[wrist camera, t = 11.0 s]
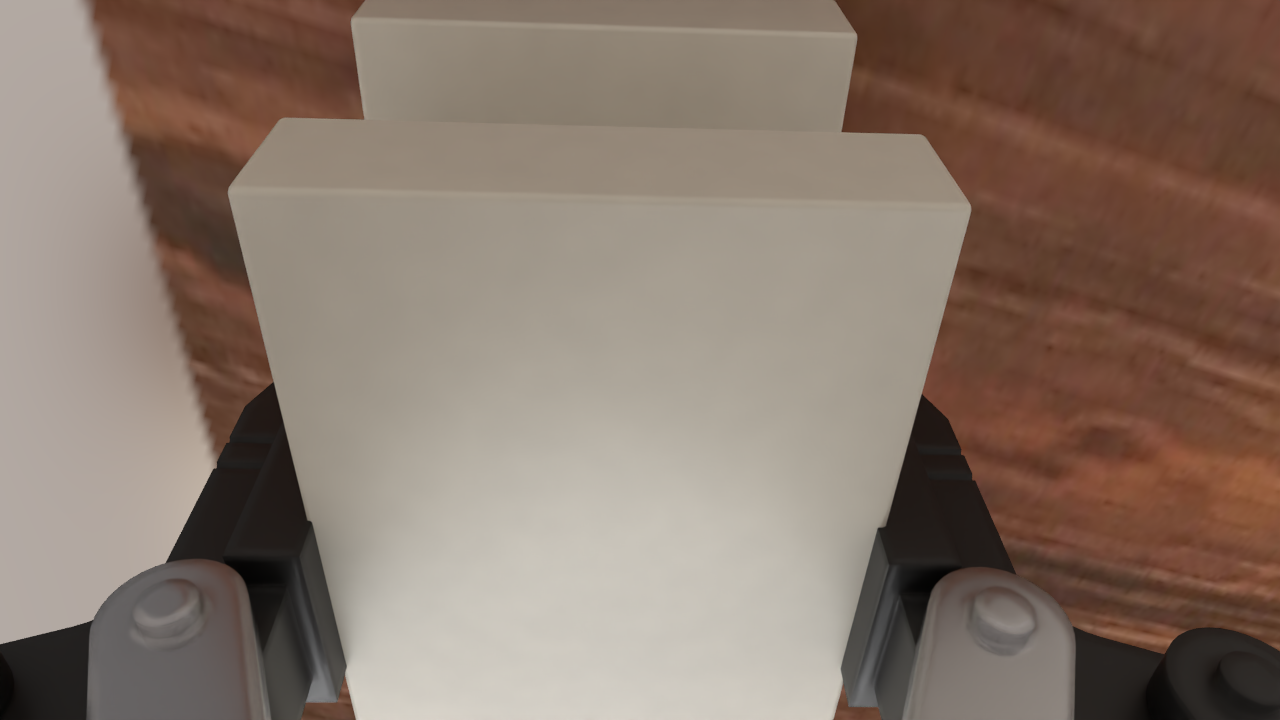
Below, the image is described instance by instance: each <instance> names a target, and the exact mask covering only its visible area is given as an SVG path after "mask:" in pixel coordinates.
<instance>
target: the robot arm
mask: <svg viewBox="0 0 1280 720" xmlns="http://www.w3.org/2000/svg"><path fill="white" fill-rule="evenodd" d="M346 668H347V665H346V661H345V657H344V653H343V649H342V645H341V640H340V636H339V632H338V628H337V624H336V620H335V616H334V611H333V607H332V603H331V599H330V595H329V591H328V586H327V582H326V578H325V574H324V570H323V566H322V561H321V557H320V553H319V549H318V545H317V541H316V536H315V532H314V528H313V524H312V522H311V521H308V520H307V516H306V512H305V508H304V504H303V500H302V496H301V492H300V487H299V483H298V479H297V475H296V471H295V467H294V463H293V459H292V455H291V451H290V446H289V442H288V438H287V434H286V430H285V426H284V422H283V418H282V414H281V410H280V405H279V401H278V397H277V393H276V389H275V385H274V382H273V383H272V384H271V385H269V386H268V387H267V388H266V389H265V390H264V391H262V392H261V393H260V394H259V395H258V396H257V397H255V398H254V399H253V400H252V401H251V402H250V403H248V404H247V405H246V406H245V408H244V410H243V412H242V414H241V416H240V418H239V420H238V422H237V424H236V425H235V427H234V429H233V431H232V433H231V435H230V443H226V445H225V447H224V449H223V451H222V453H221V455H220V457H219V459H218V461H217V469H213V471H212V473H211V475H210V477H209V479H208V481H207V483H206V485H205V487H204V489H203V491H202V493H201V495H200V496H199V498H198V501H197V502H196V504H195V506H194V508H193V510H192V512H191V514H190V516H189V518H188V520H187V522H186V524H185V526H184V528H183V530H182V532H181V534H180V536H179V538H178V540H177V542H176V544H175V546H174V548H173V550H172V552H171V554H170V556H169V558H168V560H167V561H166V563H165V564H162V565H159V566H155V567H153V568H151V569H149V570H146V571H144V572H142V573H140V574H138V575H137V576H135V577H133V578H132V579H130V580H128V581H127V582H126V583H124V584H123V585H121V586H120V587H119V588H118V589H117V590H115V591H114V592H113V593H112V594H111V595H110V596H109V597H108V598H107V600H106V601H105V602H104V603H103V604H102V606H101V607H100V609H99V611H98V612H97V614H96V615H95V617H94V620H92V621H90V622H87V623H84V624H80V625H77V626H74V627H70V628H65V629H61V630H57V631H53V632H49V633H45V634H41V635H37V636H33V637H29V638H24V639H20V640H16V641H12V642H8V643H4V644H0V720H301V717H302V713H303V710H304V707H305V703H306V702H337V701H338V697H339V694H340V690H341V686H342V683H343V679H344V675H345V672H346ZM841 674H842V678H843V683H844V687H845V692H846V696H847V701H848V705H849V707H879V711H880V715H881V719H882V720H1280V651H1278V650H1277V649H1275V648H1273V647H1271V646H1270V645H1268V644H1266V643H1264V642H1262V641H1260V640H1258V639H1255V638H1253V637H1251V636H1248V635H1245V634H1242V633H1239V632H1236V631H1232V630H1227V629H1221V628H1196V629H1193V630H1189V631H1186V632H1184V633H1182V634H1180V635H1179V636H1177V637H1176V638H1175V639H1174V640H1173V641H1172V643H1171V644H1170V646H1169V648H1168V649H1167V651H1166V653H1165V655H1164V654H1161V653H1157V652H1153V651H1150V650H1146V649H1142V648H1139V647H1135V646H1131V645H1128V644H1124V643H1120V642H1117V641H1113V640H1110V639H1106V638H1102V637H1099V636H1096V635H1093V634H1090V633H1087V632H1084V631H1082V630H1080V629H1078V628H1075V627H1073V626H1072V624H1071V622H1070V620H1069V618H1068V616H1067V615H1066V613H1065V612H1064V610H1063V609H1062V608H1061V606H1060V605H1059V604H1058V603H1057V602H1056V601H1055V600H1054V599H1053V598H1052V597H1051V596H1050V595H1049V594H1048V593H1046V592H1045V591H1044V590H1043V589H1041V588H1040V587H1038V586H1037V585H1035V584H1034V583H1032V582H1031V581H1029V580H1027V579H1025V578H1023V577H1020V576H1018V575H1017V574H1016V573H1015V570H1014V568H1013V566H1012V563H1011V561H1010V559H1009V557H1008V554H1007V552H1006V550H1005V548H1004V545H1003V543H1002V541H1001V539H1000V536H999V534H998V532H997V529H996V527H995V525H994V523H993V520H992V518H991V516H990V514H989V511H988V509H987V507H986V504H985V502H984V500H983V498H982V495H981V493H980V491H979V489H978V486H977V484H976V482H975V481H972V473H971V470H970V468H969V466H968V464H967V461H966V459H965V457H964V455H961V448H960V445H959V443H958V441H957V439H956V436H955V434H954V432H953V430H952V427H951V425H950V423H949V420H948V419H947V418H946V417H945V416H944V415H943V414H942V413H941V412H940V411H939V410H938V409H937V408H936V407H935V406H934V405H933V404H932V403H931V402H930V401H928V400H927V399H926V398H925V397H924V396H923V395H922V394H921V398H920V402H919V405H918V409H917V413H916V416H915V420H914V424H913V428H912V431H911V435H910V439H909V442H908V446H907V450H906V453H905V457H904V461H903V464H902V468H901V472H900V475H899V479H898V483H897V486H896V490H895V494H894V498H893V501H892V505H891V509H890V512H889V516H888V520H887V523H886V526H885V527H882V528H878V529H877V532H876V536H875V540H874V544H873V548H872V551H871V555H870V559H869V563H868V567H867V570H866V574H865V578H864V582H863V585H862V589H861V593H860V597H859V601H858V604H857V608H856V612H855V616H854V619H853V623H852V627H851V631H850V635H849V638H848V642H847V646H846V650H845V653H844V657H843V661H842V665H841Z"/></svg>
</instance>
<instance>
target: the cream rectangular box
mask: <svg viewBox="0 0 1280 720" xmlns="http://www.w3.org/2000/svg"><path fill="white" fill-rule="evenodd" d="M351 29H352V36H353V43H354V50H355V57H356V64H357V71H358V78H359V85H360V92H361V99H362V106H363V113H364V120H391V121H429V122H467V123H505V124H542V125H580V126H618V127H656V128H693V129H731V130H769V131H807V132H841V131H842V126H843V120H844V114H845V108H846V102H847V97H848V91H849V85H850V79H851V73H852V67H853V62H854V56H855V50H856V44H857V34H856V32H855V31H854V29H853V28H852V26H851V25H850V23H849V22H848V20H847V18H846V17H845V15H844V14H843V12H842V11H841V9H840V8H839V6H838V5H837V3H836V2H835V1H834V0H365V1H364V3H363V4H362V5H361V6H360V8H359V9H358V10H357V12H356V13H355V14H354V15H353V17H352V18H351Z"/></svg>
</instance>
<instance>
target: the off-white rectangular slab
mask: <svg viewBox="0 0 1280 720" xmlns="http://www.w3.org/2000/svg"><path fill="white" fill-rule="evenodd" d="M228 196H229V200H230V204H231V209H232V213H233V217H234V221H235V225H236V229H237V233H238V237H239V241H240V245H241V250H242V254H243V258H244V262H245V266H246V270H247V274H248V278H249V282H250V286H251V291H252V295H253V299H254V303H255V307H256V311H257V315H258V319H259V323H260V327H261V332H262V336H263V340H264V344H265V348H266V352H267V356H268V360H269V364H270V369H271V373H272V377H273V381H274V385H275V389H276V393H277V397H278V401H279V405H280V410H281V414H282V418H283V422H284V426H285V430H286V434H287V438H288V442H289V446H290V451H291V455H292V459H293V463H294V467H295V471H296V475H297V479H298V483H299V487H300V492H301V496H302V500H303V504H304V508H305V512H306V516H307V520H308V521H311V522H312V524H313V528H314V532H315V536H316V541H317V545H318V549H319V553H320V557H321V561H322V566H323V570H324V574H325V578H326V582H327V586H328V591H329V595H330V599H331V603H332V607H333V611H334V616H335V620H336V624H337V628H338V632H339V636H340V640H341V645H342V649H343V653H344V657H345V661H346V665H347V668H346V672H345V676H346V680H347V684H348V688H349V692H350V697H351V701H352V705H353V709H354V713H355V717H356V720H833V719H834V715H835V711H836V708H837V704H838V700H839V697H840V693H841V689H842V686H843V678H842V674H841V665H842V661H843V657H844V653H845V650H846V646H847V642H848V638H849V635H850V631H851V627H852V623H853V619H854V616H855V612H856V608H857V604H858V601H859V597H860V593H861V589H862V585H863V582H864V578H865V574H866V570H867V567H868V563H869V559H870V555H871V551H872V548H873V544H874V540H875V536H876V532H877V529H878V528H882V527H885V526H886V523H887V520H888V516H889V512H890V509H891V505H892V501H893V498H894V494H895V490H896V486H897V483H898V479H899V475H900V472H901V468H902V464H903V461H904V457H905V453H906V450H907V446H908V442H909V439H910V435H911V431H912V428H913V424H914V420H915V416H916V413H917V409H918V405H919V402H920V398H921V394H922V391H923V387H924V383H925V380H926V376H927V372H928V369H929V365H930V361H931V357H932V354H933V350H934V346H935V343H936V339H937V335H938V332H939V328H940V324H941V321H942V317H943V313H944V310H945V306H946V302H947V298H948V295H949V291H950V287H951V284H952V280H953V276H954V273H955V269H956V265H957V262H958V258H959V254H960V251H961V247H962V243H963V239H964V236H965V232H966V228H967V225H968V221H969V217H970V214H971V205H970V203H969V202H968V200H967V199H966V197H965V196H964V194H963V193H962V191H961V190H960V188H959V187H958V185H957V184H956V182H955V181H954V179H953V178H952V176H951V175H950V173H949V172H948V170H947V169H946V167H945V166H944V164H943V163H942V161H941V160H940V158H939V157H938V155H937V154H936V152H935V151H934V149H933V148H932V146H931V145H930V143H929V142H928V140H927V139H926V137H925V136H923V135H920V134H882V133H844V132H807V131H769V130H731V129H693V128H656V127H618V126H580V125H542V124H505V123H467V122H429V121H391V120H354V119H316V118H283V119H280V120H279V121H278V122H277V124H276V125H275V126H274V128H273V129H272V130H271V132H270V133H269V134H268V136H267V137H266V138H265V140H264V141H263V142H262V144H261V145H260V146H259V148H258V149H257V150H256V152H255V153H254V154H253V156H252V157H251V158H250V160H249V161H248V162H247V164H246V165H245V166H244V168H243V169H242V170H241V172H240V173H239V174H238V176H237V177H236V178H235V180H234V181H233V182H232V184H231V185H230V186H229V189H228Z"/></svg>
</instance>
